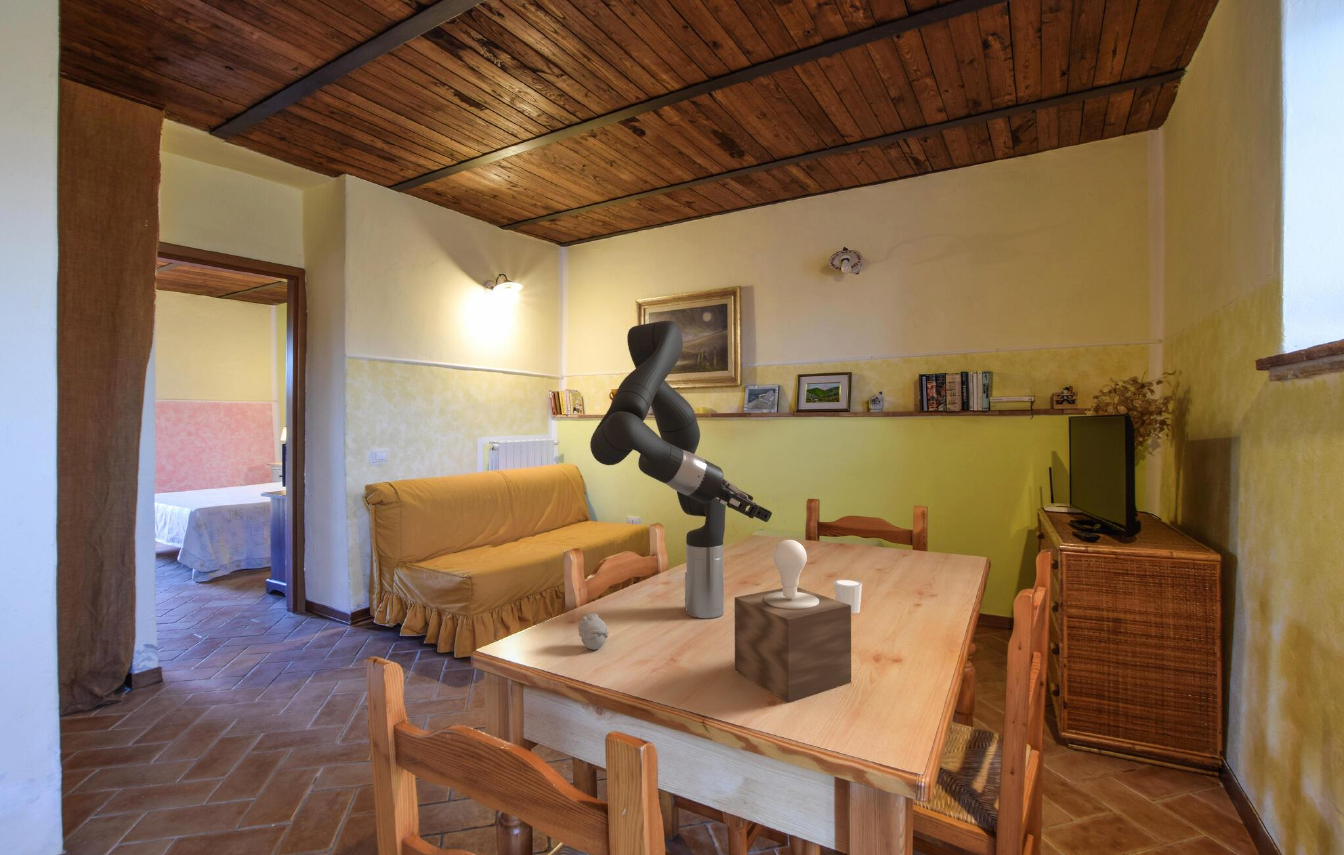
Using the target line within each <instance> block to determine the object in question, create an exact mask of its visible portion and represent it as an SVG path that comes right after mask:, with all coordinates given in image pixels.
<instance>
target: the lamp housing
mask: <svg viewBox="0 0 1344 855" xmlns="http://www.w3.org/2000/svg"><path fill="white" fill-rule="evenodd" d="M734 672H736V673H738V674H739V675H741V676H743V677H745V678H747V679H748V680H750V681H751V682H754V683H755V684H756V685H758V686H760V687H761V688H763V689H765V690H766V691H768V692H770V693H772V694H773V695H775V696H776V697H778V698H780V699H781V700H783V701H784V702H787V703H788V704H789V703H792V702H795V701H799V700H802V699H804V698H808V697H811V696H814V695H817V694H820V693H824V692H826V691H828V690H832V689H835V688H837V687H842V686H845V685H847V684H850V683H851V684H852V614H851V605H849V604H846V603H843V602H840V601H837V600H836V599H835V598H830V597H829V596H828V597H827V596H824V595H821V594H820V593H816V592H812V591H810V590H807V589H805V588H804V589H803V588H801V587H798V586H797V596H796V597H794V598H793V599H787V598H786V597H785V596H783V587H782V588H776V589H770V590H766V591H765V590H764V591H761V592H755V593H750V594H749V593H748V594H745V595H739V596H735V597H734Z"/></svg>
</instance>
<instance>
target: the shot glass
mask: <svg viewBox="0 0 1344 855" xmlns="http://www.w3.org/2000/svg"><path fill="white" fill-rule="evenodd" d="M833 585H834V594H835V595H834V596H835V597H834V599H835V600H837V601H840V602H843V603H846V604H849V605H851V615H853V614H854V615H855V614H859V613H860V612H861V602H862V601H861V600H862V593H863V583H862V582H861V581H859V580H855V579H836V580H834V581H833Z"/></svg>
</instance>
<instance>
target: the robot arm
mask: <svg viewBox="0 0 1344 855" xmlns="http://www.w3.org/2000/svg"><path fill="white" fill-rule="evenodd" d="M626 339H627V342H626V343H627V346H628V347H627V348H628V351H629V354H630V355H629V356H630V358H631V360H632V363H633V366H634V368H635V369H633V370H632V371H631V372H630V373H629V374H627V375H626V376H625V377H624V379H623V380H622V381H621V383H620V385H619V386H618V388H617V390H616V393H615V395H614V396H613V398H612V401H611V404H610V406H609V408H608V410H607V411H606V413H605V414H604V416H603V418H602V419H601V420H600V422H599V423H598V425H597V427H596V428H595V430H594V431H593V434H592V435H591V438H590V442H589V448H590V452H591V454H592V456H593V458H594V459H595V461H597V462H598V463H600V464H602V465H605V466H615V465H617V464H620V463H621V462H622V461H623V460H624V459H626V457H627V456H629V455H630V454H631V453H632V452H633V451H635V452H638V453H639V454H640V455H639V457H638V462H637V463H638V465H637V466H638V468H639V470H640V471H641V473H643V474H644V475H646V476H649V477H650V478H652V479H654V480H657V481H658V482H660V483H663V484H665V485H666V486H668V487H669V488H671V489H672V490H674V491H675V492H676V495H677V499H678V503H679V505H680V508H681V510H682V511H683V513H684V514H686V515H689V516H693V517H694V516H695V517H705V521H704V525H702V526H700V527H698V528H695V529H691V530H689V531H688V532H687V533H686V535H685V536H686V541H685V542H686V544H685V546H686V553H685V555H686V571H685V573H684V581H685V582H684V608H685V609H687V610H686V614H687V615H688V616H690V617H693V618H697V617H698V619H714V618H718V617H721V616H722V615H724V609H725V608H724V607H725V606H724V605H725V604H724V599H725V598H724V597H725V596H724V593H725V591H724V590H725V589H724V586H725V585H724V581H725V580H724V579H725V578H724V570H725V568H724V536H725V530H726V507H728V508H729V509H730V508H731V509H732V510H734V511H736V512H738V513H740V514H742V515H744V516H746V517H748V518H749V519H754V518H756V519H758V520H760V521H762V522H765V523H767V522H769V520H771V517H772V515H773V512H772V511H771V510H769V509H767V508H765V507H764V506H761V505H759V504H757V502H755V501H753V500H754V496H752V495H751V494H749V493H747V492H745V491H743V490H741V489H739V487H737V486H736V485H735V484H734V483H732V482H730V481H728V480H727V479H725V478H724V471H723V469H722V468H721V467H720V466H718V465H716V464H714V463H712V462H711V461H709V460H706V459H704V458H702V457H700V456H699V455H696V451H697V449H698V447H699V443H700V440H701V431H700V426H699V423H698V419H697V417H696V413H695V410H694V408H693V406H692V405H691V403H689V401H688V400H686V399H685V398H684V397H683V396H682V395H681V394H680V393H679V392H677V391H676V390H675V389H674V388H673V387H672V386H671V385H670V384H669V383H668V382H667V381H666V378H668V376H669V374H671V372H672V371H673V369H674V367H675V366H676V365H677V363H678V361H679V360H680V358H681V355H682V352H683V346H684V345H683V343H684V342H683V336H682V331H681V330H680V328H679V326H678V325H677V323H676V322H674V321H673V320H672V321H671V320H659V321H655V322H654V321H653V322H649V323H643V324H638V325H635V326H632V327H630V328H629V329H628V332H627V338H626ZM650 408H651V409H652V413H653V416H654V417H653V418H654V420H655V423H656V426H657V430H658V432H659V435H658V434H657V433H656V432H655V431H654V430H653V429H652V428H651V427H650V426H649V425H647V423H645V420H646V418H647V416H648V413H649V411H650ZM747 508H748V509H747ZM685 609H684V610H685Z"/></svg>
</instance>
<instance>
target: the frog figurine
mask: <svg viewBox="0 0 1344 855" xmlns="http://www.w3.org/2000/svg"><path fill="white" fill-rule="evenodd" d="M577 630H578V635H579V637H581V642H582V644H583V645H584V646H585V647H586V648H587V649H589V650H593V651H595V650H599V649H600V648H602V647H603V645H605V643H606V640H607V639H608V637H609V635H608V634H609V629H608V626H607V625H606V623H605V621H604V620H603V619H602V618H600V617H599V614H597V613H589V614H586V615H585V616H584V615H583V616H582V618H581V619H580V621H579V623H578V625H577Z"/></svg>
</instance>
